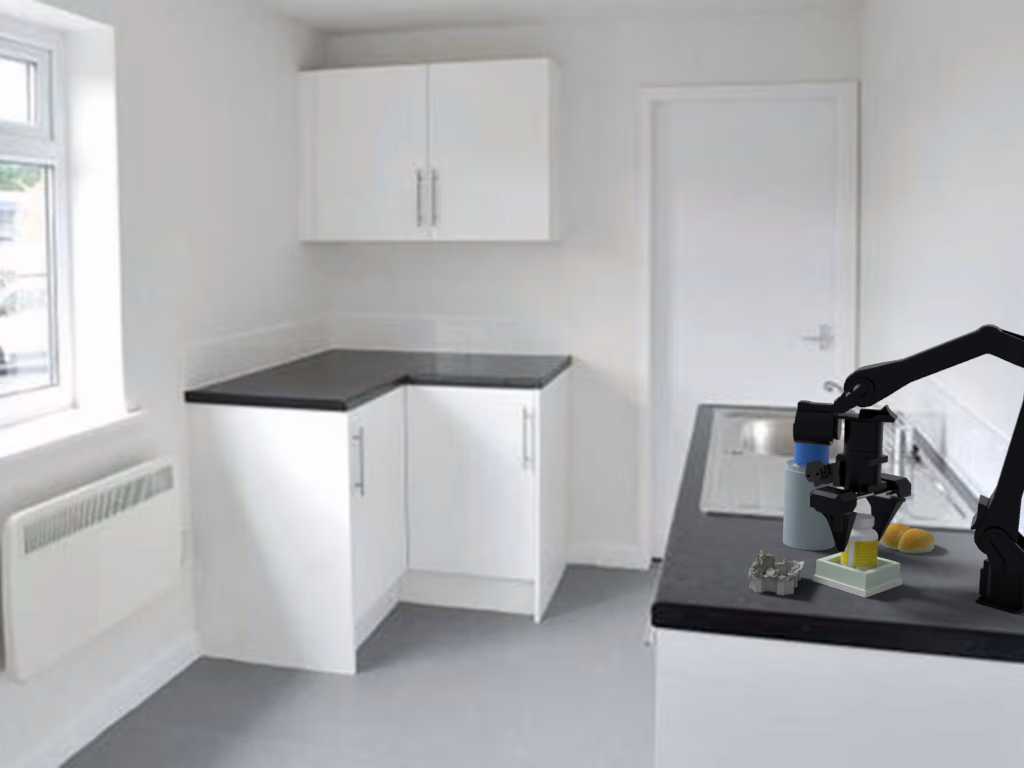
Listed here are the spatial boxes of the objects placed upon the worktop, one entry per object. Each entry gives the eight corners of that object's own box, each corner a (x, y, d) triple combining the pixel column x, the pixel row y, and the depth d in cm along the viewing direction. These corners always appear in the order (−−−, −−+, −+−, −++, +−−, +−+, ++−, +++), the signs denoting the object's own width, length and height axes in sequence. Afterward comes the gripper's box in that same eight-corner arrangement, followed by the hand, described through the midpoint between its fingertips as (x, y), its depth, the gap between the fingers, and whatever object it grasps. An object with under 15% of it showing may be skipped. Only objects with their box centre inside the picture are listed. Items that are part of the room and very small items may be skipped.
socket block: (901, 584, 160) (902, 563, 159) (865, 597, 154) (866, 575, 154) (849, 569, 167) (850, 548, 167) (813, 581, 162) (813, 559, 161)
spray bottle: (807, 553, 176) (812, 410, 172) (772, 540, 184) (776, 402, 180) (845, 545, 180) (851, 405, 176) (809, 533, 188) (814, 398, 184)
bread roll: (920, 558, 173) (922, 535, 173) (872, 546, 180) (873, 524, 180) (944, 548, 179) (945, 526, 178) (896, 537, 186) (897, 516, 185)
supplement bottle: (882, 576, 160) (885, 516, 159) (865, 584, 157) (868, 522, 155) (851, 568, 164) (853, 509, 163) (833, 576, 161) (836, 515, 159)
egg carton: (759, 572, 167) (760, 548, 167) (806, 578, 164) (807, 554, 163) (742, 591, 158) (743, 566, 157) (792, 599, 154) (792, 573, 154)
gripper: (854, 433, 170) (850, 524, 172) (781, 447, 159) (778, 545, 161) (915, 443, 161) (910, 539, 163) (842, 459, 150) (838, 562, 152)
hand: (858, 546), depth 160 cm, fingers open, 9 cm apart
